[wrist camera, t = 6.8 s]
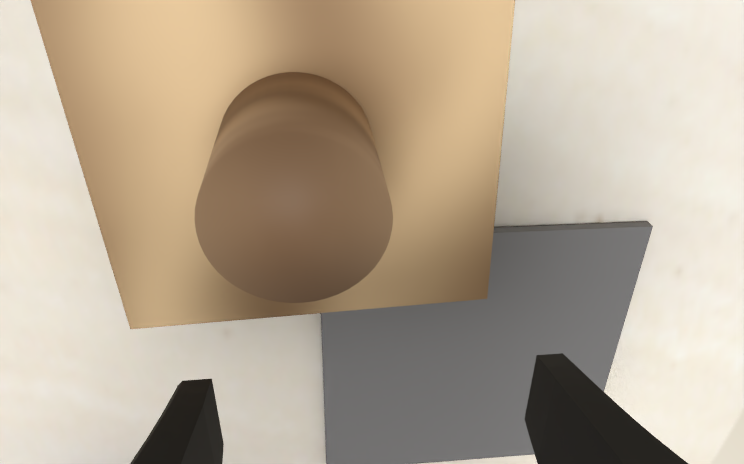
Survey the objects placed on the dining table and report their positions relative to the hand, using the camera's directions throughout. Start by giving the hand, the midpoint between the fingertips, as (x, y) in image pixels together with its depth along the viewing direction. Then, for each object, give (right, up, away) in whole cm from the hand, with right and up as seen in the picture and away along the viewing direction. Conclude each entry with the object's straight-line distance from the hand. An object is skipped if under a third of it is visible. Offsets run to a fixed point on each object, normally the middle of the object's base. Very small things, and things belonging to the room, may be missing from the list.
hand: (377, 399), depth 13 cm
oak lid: (-2, +6, +3) cm, 7 cm away
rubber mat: (+4, -2, +13) cm, 14 cm away
